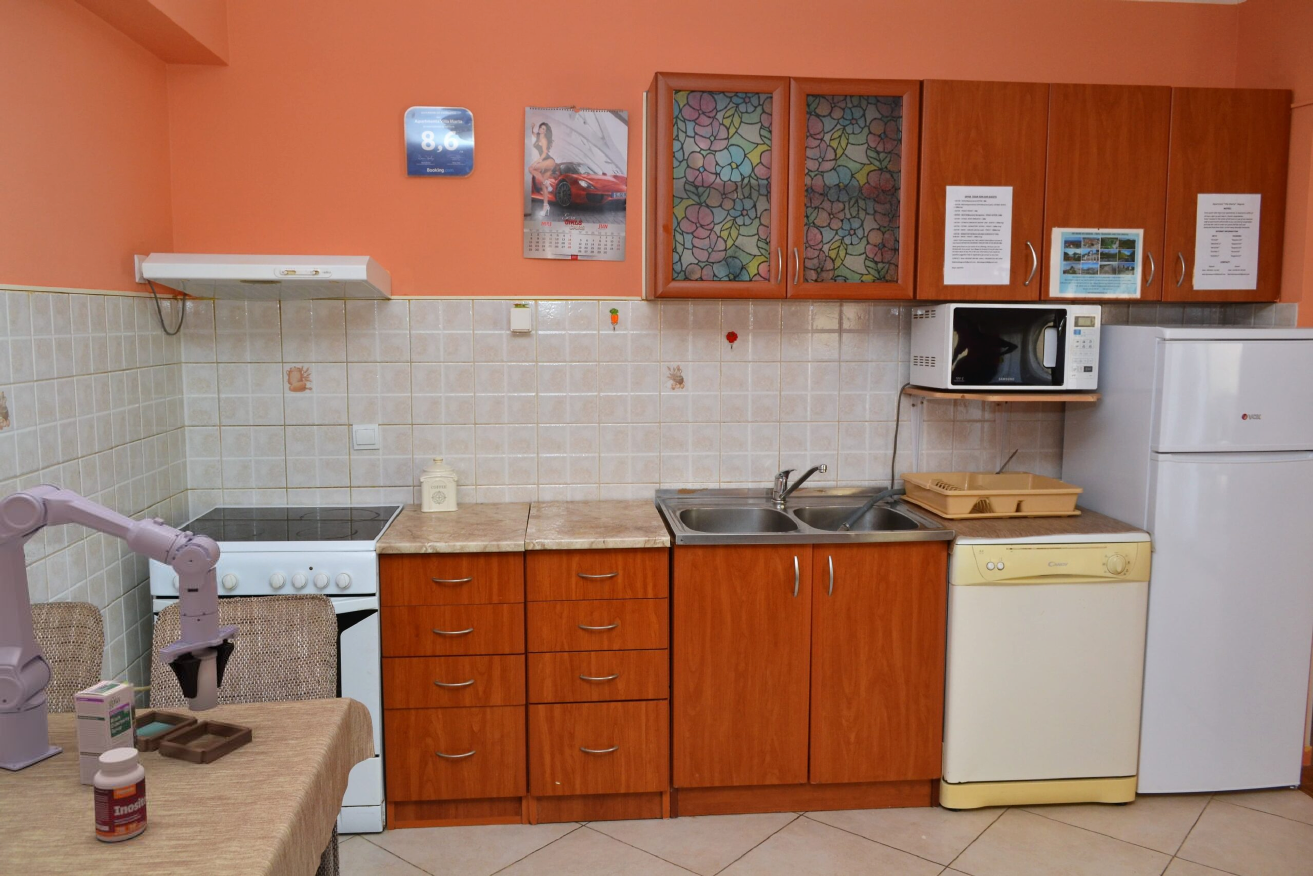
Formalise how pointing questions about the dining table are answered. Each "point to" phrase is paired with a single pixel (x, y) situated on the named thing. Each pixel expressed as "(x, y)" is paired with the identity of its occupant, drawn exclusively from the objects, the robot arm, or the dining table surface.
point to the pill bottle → (119, 795)
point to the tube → (205, 682)
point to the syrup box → (104, 723)
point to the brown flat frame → (187, 736)
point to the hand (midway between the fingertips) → (202, 692)
